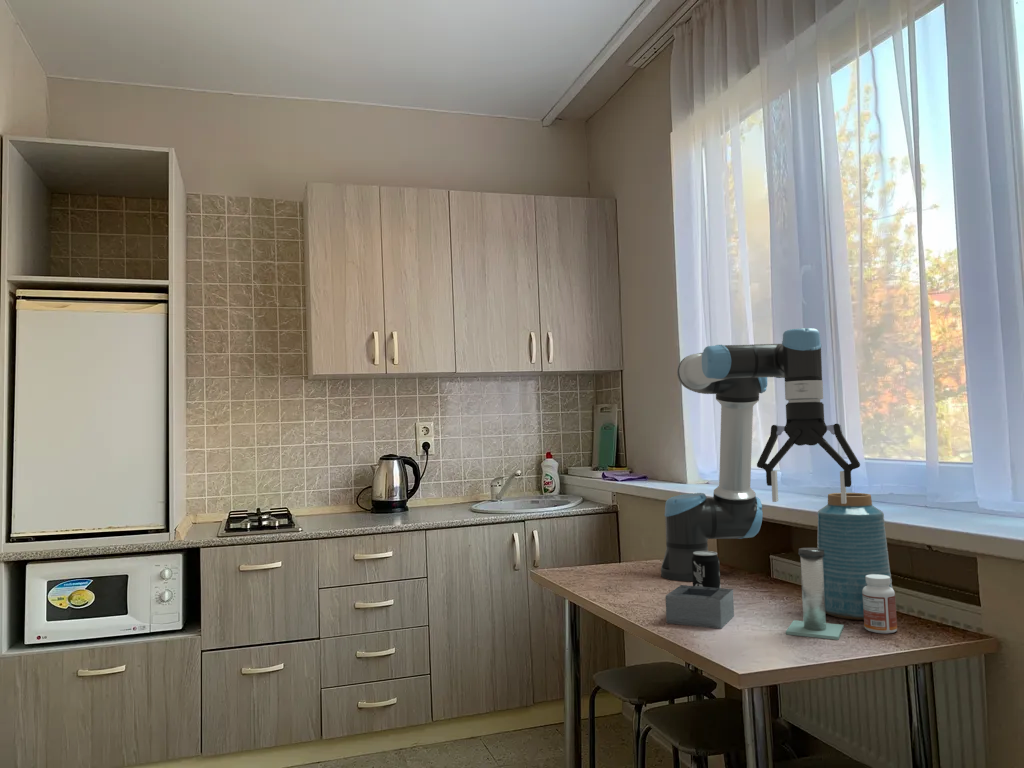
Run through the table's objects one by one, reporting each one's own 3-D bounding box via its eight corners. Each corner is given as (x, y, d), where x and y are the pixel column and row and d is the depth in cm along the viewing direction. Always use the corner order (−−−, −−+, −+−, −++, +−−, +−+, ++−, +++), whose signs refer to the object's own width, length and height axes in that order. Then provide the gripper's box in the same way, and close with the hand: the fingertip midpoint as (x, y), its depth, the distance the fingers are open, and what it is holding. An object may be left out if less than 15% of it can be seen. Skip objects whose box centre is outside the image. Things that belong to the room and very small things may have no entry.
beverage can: (721, 605, 182) (719, 555, 183) (693, 605, 184) (691, 554, 184) (720, 599, 189) (718, 550, 190) (692, 598, 190) (691, 550, 191)
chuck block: (682, 610, 178) (681, 585, 178) (734, 615, 172) (733, 589, 173) (666, 623, 168) (665, 595, 168) (721, 628, 162) (720, 600, 162)
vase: (899, 608, 175) (893, 492, 177) (889, 625, 162) (882, 498, 163) (825, 601, 184) (819, 490, 186) (809, 615, 171) (803, 496, 172)
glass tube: (800, 629, 157) (796, 550, 158) (804, 623, 162) (800, 547, 163) (826, 632, 155) (822, 552, 156) (829, 626, 159) (825, 548, 160)
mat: (793, 622, 165) (793, 620, 165) (843, 627, 160) (843, 624, 160) (785, 634, 156) (785, 631, 156) (838, 639, 152) (838, 636, 152)
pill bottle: (887, 625, 161) (884, 572, 162) (903, 633, 155) (900, 578, 156) (858, 626, 161) (855, 573, 161) (874, 634, 155) (871, 579, 155)
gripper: (740, 403, 164) (744, 502, 163) (867, 398, 152) (873, 505, 151) (747, 403, 171) (751, 499, 169) (870, 399, 158) (875, 501, 157)
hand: (808, 502), depth 160 cm, fingers open, 13 cm apart
